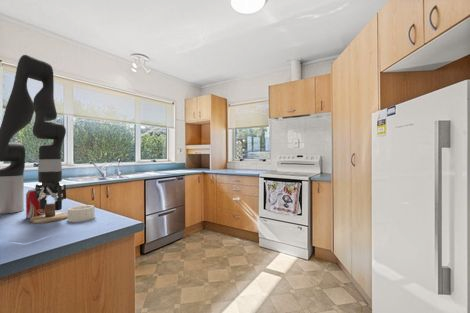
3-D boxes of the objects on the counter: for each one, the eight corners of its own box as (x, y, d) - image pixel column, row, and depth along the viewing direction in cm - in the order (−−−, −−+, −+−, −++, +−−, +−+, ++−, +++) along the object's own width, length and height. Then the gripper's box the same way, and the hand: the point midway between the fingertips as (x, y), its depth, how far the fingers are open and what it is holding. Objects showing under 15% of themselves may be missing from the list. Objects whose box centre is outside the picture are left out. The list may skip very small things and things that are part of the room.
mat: (20, 223, 88) (20, 222, 88) (55, 214, 101) (55, 214, 101) (44, 225, 85) (44, 224, 85) (77, 216, 97) (77, 216, 97)
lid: (23, 221, 89) (22, 206, 89) (55, 214, 100) (54, 200, 100) (44, 224, 85) (44, 208, 85) (75, 216, 97) (75, 201, 97)
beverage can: (34, 220, 93) (33, 191, 93) (22, 219, 94) (22, 190, 94) (49, 216, 99) (49, 188, 99) (37, 215, 100) (37, 188, 100)
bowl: (62, 221, 90) (62, 209, 90) (83, 215, 99) (83, 204, 99) (79, 223, 87) (79, 210, 87) (99, 217, 96) (99, 205, 96)
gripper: (27, 170, 91) (28, 210, 91) (53, 171, 87) (53, 212, 87) (47, 169, 98) (48, 206, 98) (72, 169, 94) (72, 208, 94)
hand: (50, 209), depth 93 cm, fingers open, 8 cm apart
